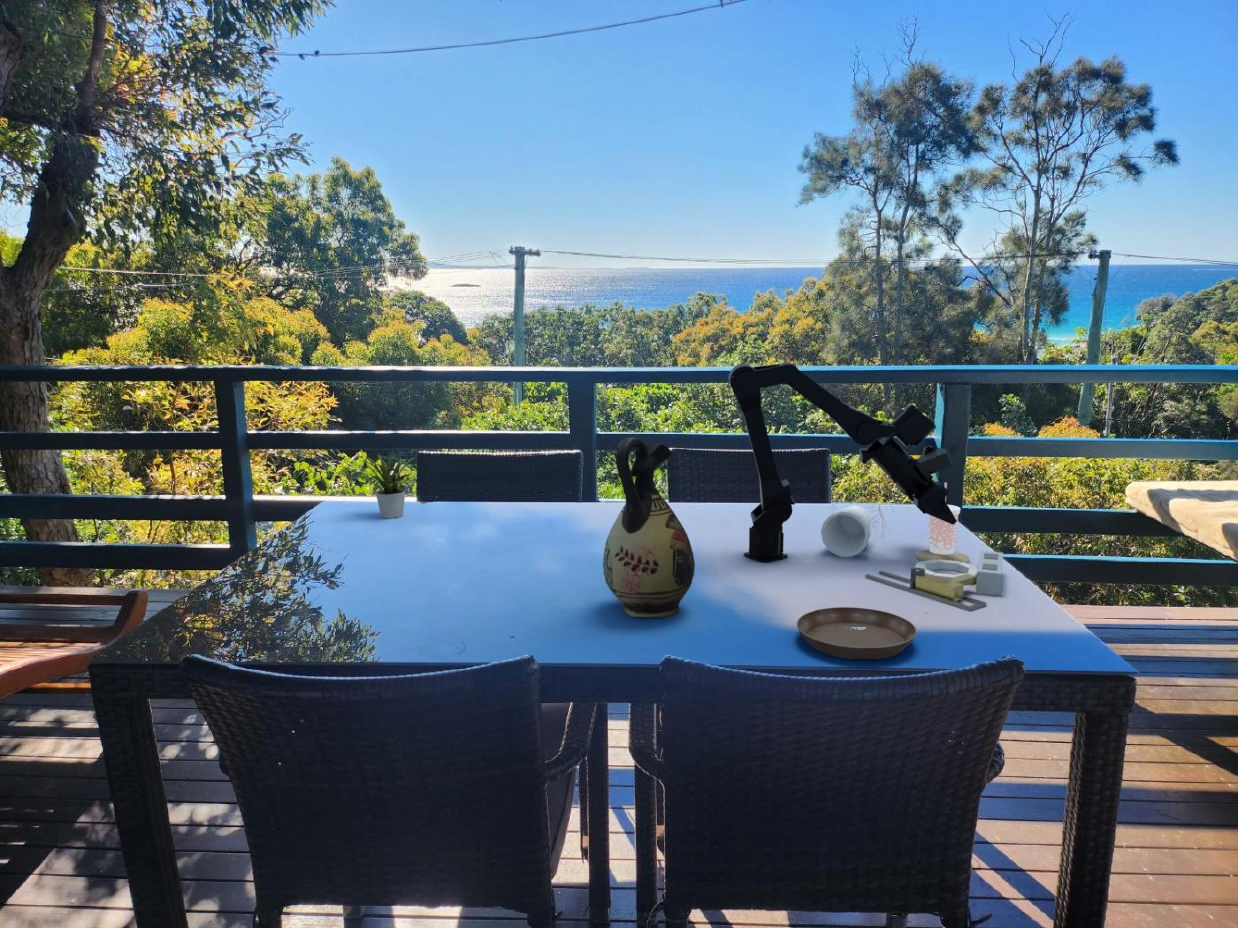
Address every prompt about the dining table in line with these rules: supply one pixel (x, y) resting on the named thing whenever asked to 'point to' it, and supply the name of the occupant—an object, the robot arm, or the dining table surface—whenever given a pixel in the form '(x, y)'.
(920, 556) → the coaster
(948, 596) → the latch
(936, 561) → the socket
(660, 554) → the ceramic jug
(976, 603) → the rail
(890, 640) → the plant saucer
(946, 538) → the beverage cup
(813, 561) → the dining table surface
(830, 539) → the foam cup
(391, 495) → the house plant
